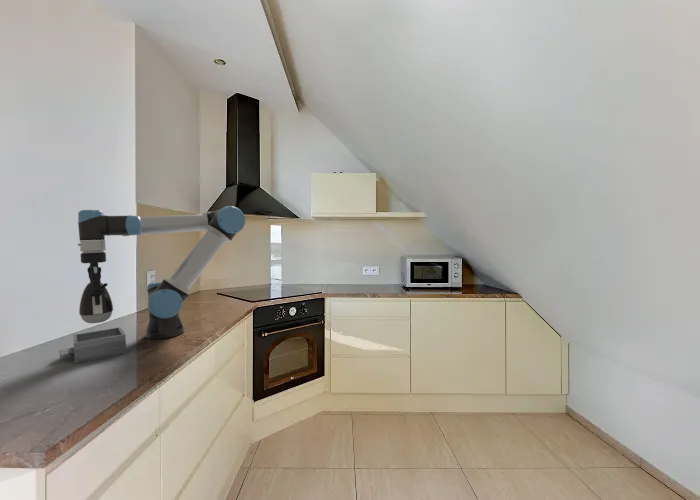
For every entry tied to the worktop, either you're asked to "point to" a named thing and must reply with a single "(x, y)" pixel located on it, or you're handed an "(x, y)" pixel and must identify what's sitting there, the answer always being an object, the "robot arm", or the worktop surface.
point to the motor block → (96, 345)
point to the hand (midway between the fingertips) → (97, 311)
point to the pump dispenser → (87, 305)
